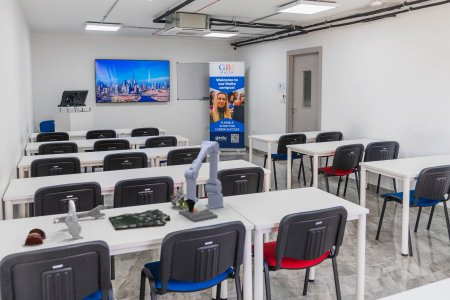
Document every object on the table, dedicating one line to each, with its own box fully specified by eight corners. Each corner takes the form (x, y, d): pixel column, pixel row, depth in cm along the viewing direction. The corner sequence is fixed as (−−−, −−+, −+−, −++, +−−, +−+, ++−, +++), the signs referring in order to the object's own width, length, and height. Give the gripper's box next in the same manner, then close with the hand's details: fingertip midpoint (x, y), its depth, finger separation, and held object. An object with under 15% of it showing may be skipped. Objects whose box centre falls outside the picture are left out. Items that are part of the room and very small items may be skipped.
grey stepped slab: (201, 209, 264) (200, 204, 263) (217, 217, 247) (217, 212, 247) (178, 213, 255) (178, 208, 255) (194, 222, 239) (194, 216, 238)
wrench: (55, 227, 238) (107, 216, 247) (55, 228, 237) (107, 217, 245) (52, 214, 237) (105, 204, 246) (52, 215, 235) (105, 204, 244)
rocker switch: (201, 206, 256) (201, 204, 256) (207, 209, 250) (207, 207, 250) (187, 212, 251) (187, 210, 251) (193, 215, 245) (193, 213, 245)
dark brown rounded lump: (23, 234, 201) (28, 226, 212) (23, 247, 201) (29, 238, 213) (42, 233, 203) (46, 226, 214) (42, 246, 203) (46, 237, 215)
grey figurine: (65, 229, 227) (63, 197, 224) (78, 227, 230) (77, 196, 227) (68, 241, 209) (66, 207, 206) (83, 238, 212) (81, 205, 209)
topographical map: (108, 219, 245) (108, 214, 244) (162, 212, 259) (162, 208, 258) (117, 233, 222) (117, 228, 221) (175, 225, 235) (175, 220, 235)
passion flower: (173, 216, 268) (167, 198, 273) (191, 211, 273) (184, 193, 277) (176, 210, 257) (169, 191, 262) (194, 205, 262) (187, 186, 266)
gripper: (179, 187, 250) (179, 209, 252) (190, 192, 238) (190, 215, 240) (189, 186, 254) (189, 208, 256) (201, 191, 242) (201, 213, 244)
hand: (190, 211), depth 248 cm, fingers closed, pressing on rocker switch
